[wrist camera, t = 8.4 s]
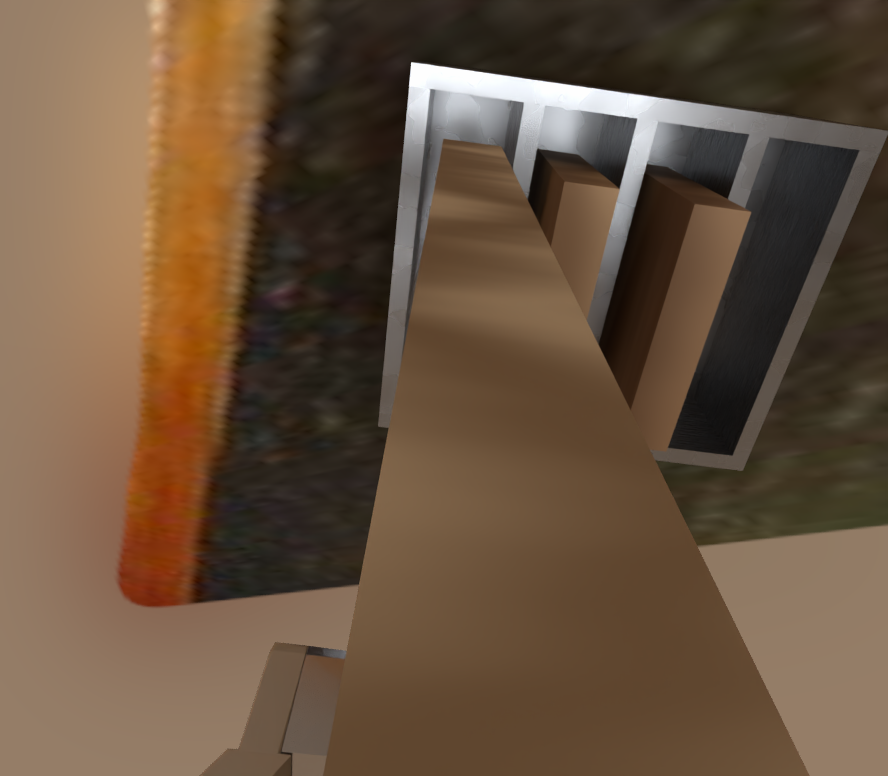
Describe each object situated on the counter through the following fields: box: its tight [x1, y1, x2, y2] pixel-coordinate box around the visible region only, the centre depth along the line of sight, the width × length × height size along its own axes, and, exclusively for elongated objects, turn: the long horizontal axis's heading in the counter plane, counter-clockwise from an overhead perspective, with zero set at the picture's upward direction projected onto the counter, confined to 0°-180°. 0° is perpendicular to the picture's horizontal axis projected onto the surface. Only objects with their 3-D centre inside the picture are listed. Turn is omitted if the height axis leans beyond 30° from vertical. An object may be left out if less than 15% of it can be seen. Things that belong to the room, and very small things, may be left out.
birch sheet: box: [323, 139, 809, 776], centre depth 14 cm, size 2×12×22 cm, turn 173°
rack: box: [378, 61, 888, 471], centre depth 31 cm, size 18×16×8 cm
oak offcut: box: [528, 149, 620, 320], centre depth 29 cm, size 2×10×9 cm, turn 173°
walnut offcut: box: [598, 164, 751, 452], centre depth 28 cm, size 2×10×10 cm, turn 173°
